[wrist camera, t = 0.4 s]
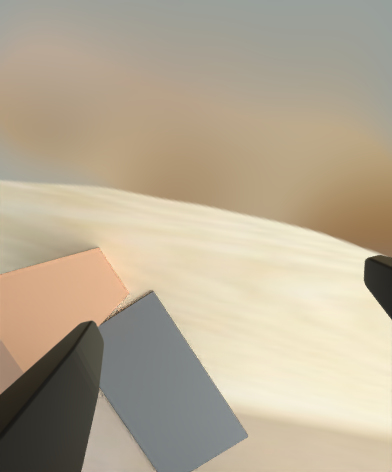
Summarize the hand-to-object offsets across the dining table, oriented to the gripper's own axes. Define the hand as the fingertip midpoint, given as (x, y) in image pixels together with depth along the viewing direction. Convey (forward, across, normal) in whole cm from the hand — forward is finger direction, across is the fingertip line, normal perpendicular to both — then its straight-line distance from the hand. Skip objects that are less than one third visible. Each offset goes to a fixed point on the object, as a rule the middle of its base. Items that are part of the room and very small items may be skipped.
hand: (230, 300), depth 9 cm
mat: (+10, +7, +16) cm, 21 cm away
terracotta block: (+14, +11, +6) cm, 19 cm away
